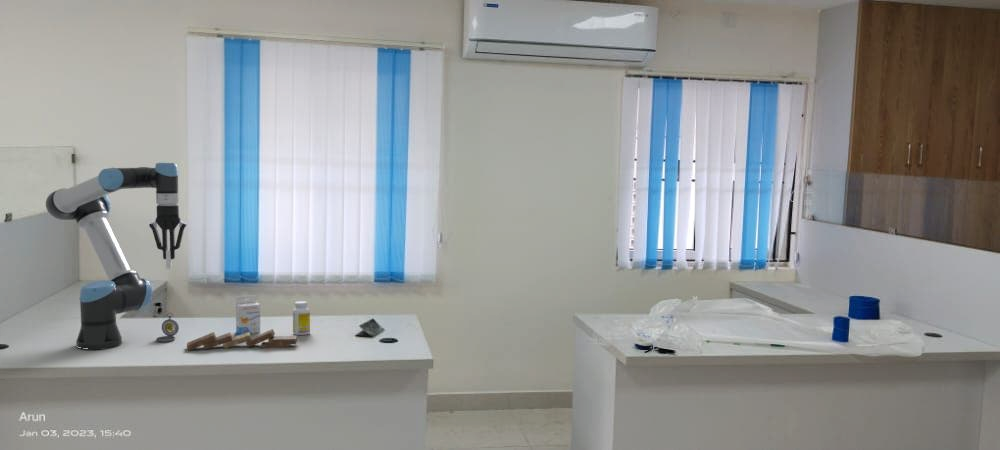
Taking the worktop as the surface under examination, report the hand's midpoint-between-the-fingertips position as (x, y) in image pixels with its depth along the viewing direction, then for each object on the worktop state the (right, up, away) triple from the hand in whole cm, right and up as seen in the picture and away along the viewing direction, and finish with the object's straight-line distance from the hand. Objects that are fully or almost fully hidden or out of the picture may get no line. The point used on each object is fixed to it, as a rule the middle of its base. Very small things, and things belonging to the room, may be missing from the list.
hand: (169, 267), depth 293 cm
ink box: (+21, -28, +25) cm, 43 cm away
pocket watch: (-5, -29, +11) cm, 31 cm away
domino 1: (+8, -29, -2) cm, 30 cm away
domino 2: (+13, -29, -1) cm, 32 cm away
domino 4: (+33, -30, +3) cm, 45 cm away
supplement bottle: (+43, -28, +24) cm, 57 cm away
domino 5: (+36, -28, +3) cm, 46 cm away
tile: (+20, -29, +2) cm, 35 cm away
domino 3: (+28, -29, +3) cm, 40 cm away
